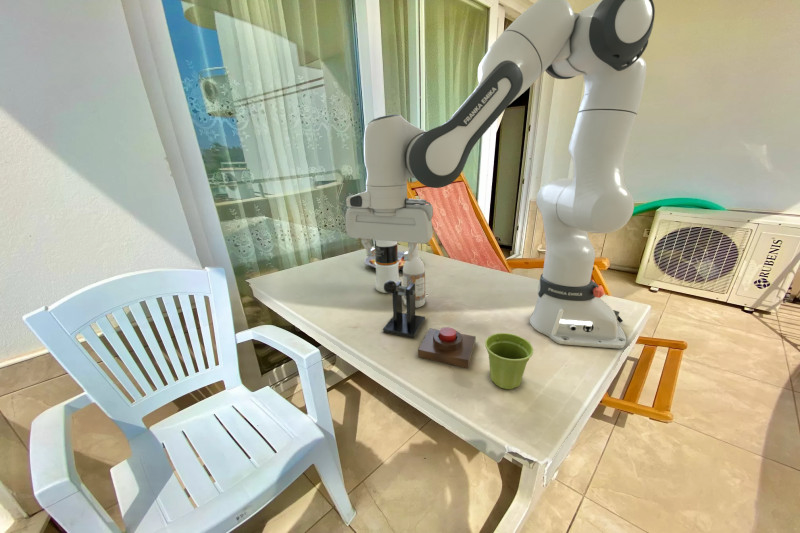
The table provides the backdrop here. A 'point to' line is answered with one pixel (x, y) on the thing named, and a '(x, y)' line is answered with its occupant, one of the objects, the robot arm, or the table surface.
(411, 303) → the tap bracket
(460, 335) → the button block
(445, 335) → the button
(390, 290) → the lever
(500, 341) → the plant pot
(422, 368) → the table surface
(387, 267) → the vodka
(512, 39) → the robot arm
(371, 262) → the food plate
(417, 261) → the bath foam
